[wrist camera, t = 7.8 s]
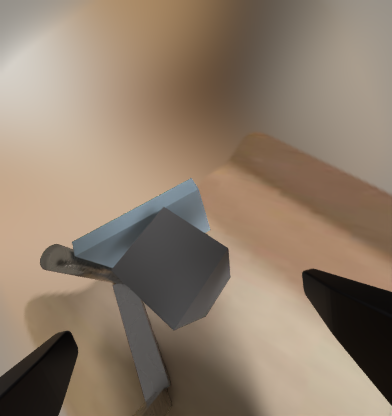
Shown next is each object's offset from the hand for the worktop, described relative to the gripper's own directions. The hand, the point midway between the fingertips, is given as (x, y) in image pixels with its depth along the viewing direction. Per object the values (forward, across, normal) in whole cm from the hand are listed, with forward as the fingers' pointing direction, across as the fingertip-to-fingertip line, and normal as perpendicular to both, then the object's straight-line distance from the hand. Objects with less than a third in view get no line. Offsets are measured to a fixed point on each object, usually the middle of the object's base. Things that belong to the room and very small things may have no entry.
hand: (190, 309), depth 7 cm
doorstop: (+12, 0, +7) cm, 14 cm away
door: (+15, +3, +3) cm, 16 cm away
